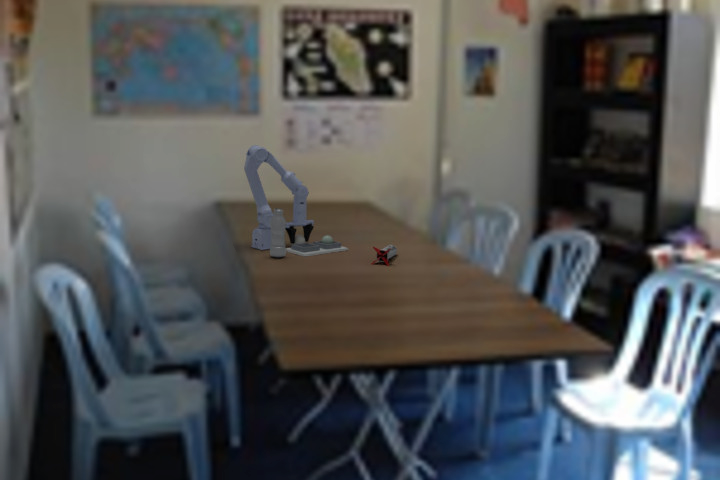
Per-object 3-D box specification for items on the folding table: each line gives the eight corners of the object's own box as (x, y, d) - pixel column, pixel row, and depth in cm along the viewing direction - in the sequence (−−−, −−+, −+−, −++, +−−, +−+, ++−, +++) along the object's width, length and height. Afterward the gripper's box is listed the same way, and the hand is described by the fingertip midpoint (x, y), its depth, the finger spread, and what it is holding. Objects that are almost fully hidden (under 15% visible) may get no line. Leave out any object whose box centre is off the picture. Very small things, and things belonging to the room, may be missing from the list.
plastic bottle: (283, 259, 350) (284, 210, 346) (267, 258, 351) (268, 209, 347) (287, 256, 356) (288, 208, 352) (272, 255, 357) (272, 207, 353)
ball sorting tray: (304, 256, 356) (304, 249, 356) (284, 250, 367) (284, 243, 366) (348, 250, 372) (348, 243, 372) (327, 244, 382) (327, 238, 382)
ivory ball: (298, 247, 375) (298, 236, 374) (291, 245, 378) (291, 234, 377) (307, 246, 378) (307, 235, 377) (300, 244, 382) (300, 233, 381)
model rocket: (409, 251, 365) (394, 232, 366) (398, 258, 343) (383, 238, 343) (390, 266, 368) (375, 248, 369) (378, 274, 346) (362, 255, 346)
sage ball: (326, 248, 370) (326, 236, 369) (319, 246, 373) (319, 235, 372) (335, 247, 373) (335, 235, 372) (327, 245, 377) (328, 234, 376)
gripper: (292, 214, 368) (291, 245, 370) (318, 211, 377) (317, 242, 380) (282, 212, 373) (281, 243, 375) (308, 209, 382) (307, 239, 385)
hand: (299, 242), depth 378 cm, fingers open, 7 cm apart
